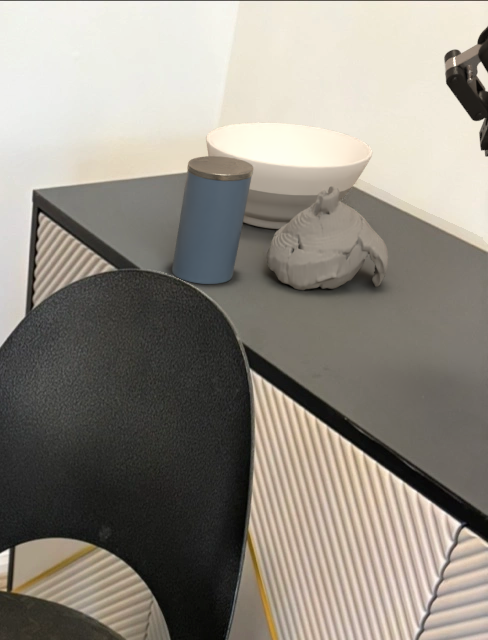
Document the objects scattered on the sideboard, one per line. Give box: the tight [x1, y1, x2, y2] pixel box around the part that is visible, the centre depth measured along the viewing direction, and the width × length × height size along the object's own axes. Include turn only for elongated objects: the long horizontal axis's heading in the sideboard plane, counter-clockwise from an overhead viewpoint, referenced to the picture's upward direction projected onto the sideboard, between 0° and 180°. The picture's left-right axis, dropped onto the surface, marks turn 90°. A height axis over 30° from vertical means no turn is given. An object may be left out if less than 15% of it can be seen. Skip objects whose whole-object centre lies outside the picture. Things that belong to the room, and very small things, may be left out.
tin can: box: [171, 155, 254, 285], centre depth 118 cm, size 7×7×11 cm
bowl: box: [205, 122, 374, 230], centre depth 135 cm, size 19×19×8 cm
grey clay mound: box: [266, 186, 389, 291], centre depth 119 cm, size 12×12×11 cm
